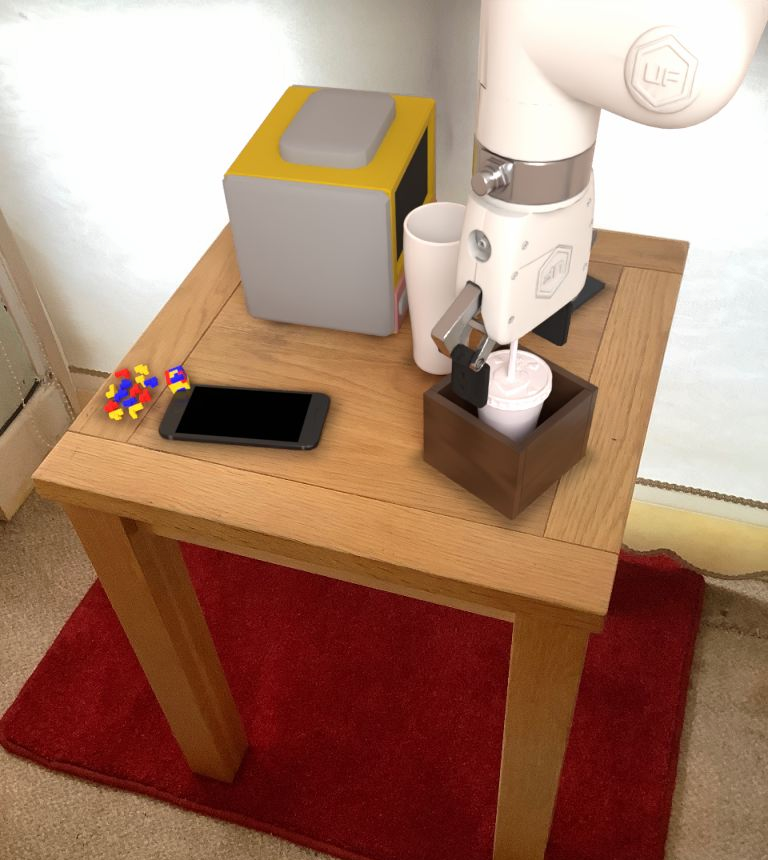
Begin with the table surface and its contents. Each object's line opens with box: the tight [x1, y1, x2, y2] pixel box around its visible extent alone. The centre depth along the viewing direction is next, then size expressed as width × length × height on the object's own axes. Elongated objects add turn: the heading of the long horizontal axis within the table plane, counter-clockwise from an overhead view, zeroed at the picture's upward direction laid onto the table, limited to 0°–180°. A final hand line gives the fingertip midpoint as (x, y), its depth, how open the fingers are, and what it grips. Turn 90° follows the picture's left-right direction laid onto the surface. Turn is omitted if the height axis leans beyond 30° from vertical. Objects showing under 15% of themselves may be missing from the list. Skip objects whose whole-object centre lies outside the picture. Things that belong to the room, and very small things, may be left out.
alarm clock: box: [221, 84, 438, 338], centre depth 86 cm, size 20×16×18 cm
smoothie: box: [478, 339, 552, 444], centre depth 71 cm, size 6×6×14 cm
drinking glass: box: [403, 201, 471, 376], centre depth 79 cm, size 7×7×15 cm
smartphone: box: [157, 383, 332, 452], centre depth 80 cm, size 7×15×1 cm, turn 82°
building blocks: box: [103, 364, 191, 421], centre depth 83 cm, size 6×8×2 cm
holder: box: [422, 342, 599, 521], centre depth 73 cm, size 10×10×8 cm
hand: (509, 367), depth 68 cm, fingers open, 9 cm apart
